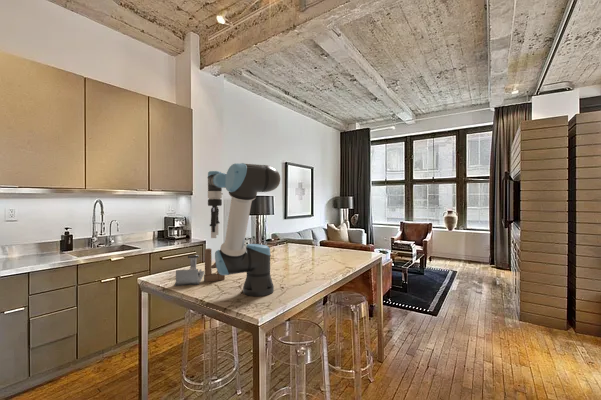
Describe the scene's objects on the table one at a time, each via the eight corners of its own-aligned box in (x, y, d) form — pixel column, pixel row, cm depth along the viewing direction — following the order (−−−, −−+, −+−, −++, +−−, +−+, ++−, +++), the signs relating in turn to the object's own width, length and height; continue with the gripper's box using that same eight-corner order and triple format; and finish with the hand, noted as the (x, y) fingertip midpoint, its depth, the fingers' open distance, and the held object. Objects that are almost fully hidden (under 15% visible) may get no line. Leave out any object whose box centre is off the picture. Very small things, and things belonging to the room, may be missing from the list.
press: (198, 284, 150) (198, 269, 150) (174, 286, 148) (174, 270, 148) (204, 273, 173) (204, 260, 173) (183, 274, 171) (183, 261, 170)
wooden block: (224, 279, 159) (224, 248, 159) (205, 282, 154) (205, 249, 154) (223, 278, 162) (223, 247, 162) (203, 280, 157) (203, 248, 157)
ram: (197, 273, 167) (197, 256, 166) (186, 274, 165) (186, 256, 165) (198, 271, 171) (198, 254, 171) (188, 272, 170) (188, 255, 170)
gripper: (220, 198, 147) (220, 239, 147) (223, 198, 171) (223, 233, 171) (205, 198, 145) (205, 239, 145) (210, 198, 170) (210, 233, 170)
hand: (214, 236), depth 158 cm, fingers open, 13 cm apart
